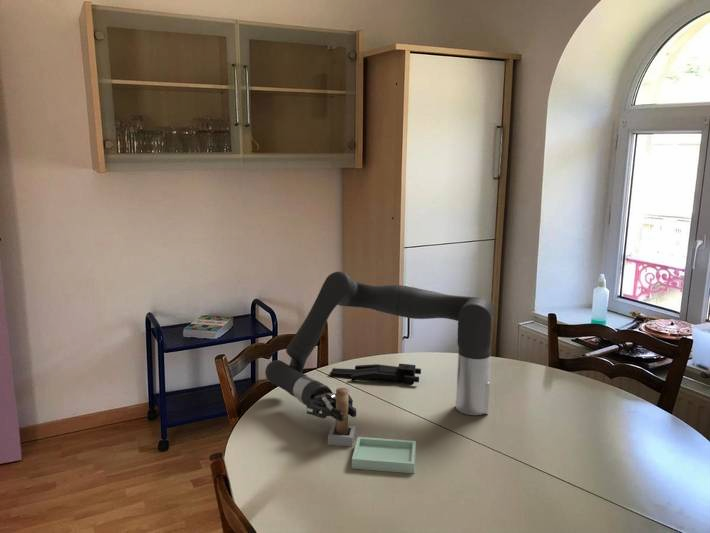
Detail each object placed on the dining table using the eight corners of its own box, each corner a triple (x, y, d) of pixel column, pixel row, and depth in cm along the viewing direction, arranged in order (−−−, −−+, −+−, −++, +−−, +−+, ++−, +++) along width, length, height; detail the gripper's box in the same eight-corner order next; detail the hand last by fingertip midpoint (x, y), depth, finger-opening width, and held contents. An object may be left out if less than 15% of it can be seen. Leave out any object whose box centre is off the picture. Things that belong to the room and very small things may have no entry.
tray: (415, 450, 152) (416, 441, 152) (414, 473, 142) (414, 463, 141) (357, 445, 154) (357, 436, 154) (351, 468, 143) (351, 458, 143)
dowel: (348, 437, 158) (349, 388, 156) (347, 443, 155) (347, 393, 152) (337, 436, 159) (337, 387, 156) (335, 442, 156) (335, 392, 153)
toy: (329, 391, 197) (419, 388, 191) (327, 374, 196) (417, 371, 189) (336, 379, 206) (422, 376, 200) (333, 363, 205) (420, 359, 198)
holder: (355, 434, 160) (355, 426, 159) (352, 446, 154) (352, 437, 153) (332, 433, 161) (332, 424, 160) (327, 444, 154) (327, 435, 154)
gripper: (290, 386, 162) (326, 409, 148) (332, 374, 170) (370, 395, 157) (290, 412, 163) (326, 437, 150) (332, 399, 172) (370, 421, 158)
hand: (348, 415), depth 153 cm, fingers open, 3 cm apart
